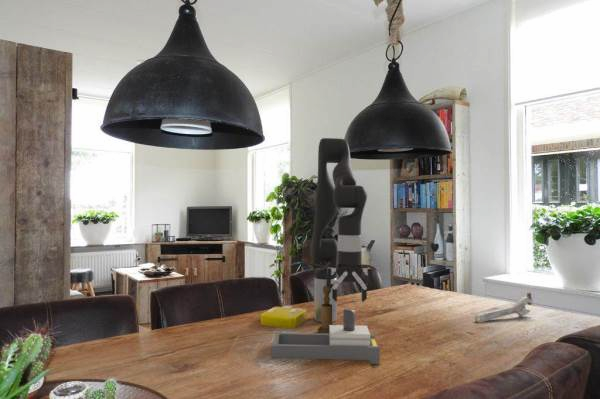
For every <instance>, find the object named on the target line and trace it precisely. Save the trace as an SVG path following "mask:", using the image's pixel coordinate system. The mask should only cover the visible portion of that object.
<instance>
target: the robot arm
mask: <svg viewBox="0 0 600 399" xmlns="http://www.w3.org/2000/svg"><path fill="white" fill-rule="evenodd" d="M317 154H318V155H317V181H316V182H317V184H316V193H315V203H314V222H313V230H312V236H311V237H312V238H311V243H310V244H311V245H310V256H311V259H312V260H313V261H314V262H327V263H326V265H324V266H323V267H321V268H317V269H316V270H315V271H314V283H313V284H314V287H313V288H314V294H313V295H314V302H313V304H314V307H313V308H314V309H313V310H314V317H313V318H314V321H315V322H320V323H321V318H322V304H325V303H324V298H325V294H324V292H323V287H324V286H327V287H330V288H331V292H330V294H329V298H330V302H329V304H332V323H334V322H336V321H338V320H337V319H338V318H337V317H338V315H337V314H338V305H337V304H338V303H337V302H338V286H340V285H341V283H342V282H344V283H348V282H350V283H355V282H357V283H358V284H359V286H361V302H362V303H365V301H366V300H367V298H368V297H367V295H368V294H367V293H368V292H367V291H368V289H372V288H373V286H374V284H373V271H372V270H373V269H372V268H371V267H367V268H363V266H362V254H363V253H362V249H363V246H362V245H363V244H362V220H363V219H362V217H363V213H364V209H365V206H366V203H367V199H368V193H367V190H366V188H365V187H364V186H362V185H357V181H356V176H355V175H354V173H353V169H352V162H351V161H352V160H351V152H350V146H349V143H348V141H347V140H346V139H344V138H335V137H334V138H332V137H331V138H330V137H329V138H328V137H324V138H323V137H322V138H321V139H320V140H319V143H318V153H317ZM328 164H336V165H335V166H334V168H333V170H332V178H331V177H330V174H329V172H328V171H329V170H328V168H327V166H328ZM332 179H333V181H332ZM339 208H340V209H353V211H352V212H351V213H350V214H346V215H345V214H344V215H341V216H340V217H338V220H337V221H338V222H337V223H338V225H337V226H338V227H337V228H338V229H337V231H338V235H337V240H336V239H335V238H322V237H323V234H324V232H325V230H326V229H327V228H328V226H329V224H330V223H331V222H332V221H334V219H335V217H336V216H337V214H338V211H339ZM363 273H364V275H365V276H367V278H366V279H367V283H365V282H364V281H363V280H362V278H361V276H362V275H363Z"/></svg>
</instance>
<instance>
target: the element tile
mask: <svg viewBox="0 0 600 399" xmlns="http://www.w3.org/2000/svg"><path fill="white" fill-rule="evenodd" d="M306 320H307V310H306V309H304V308H293V307H292V308H291V307H284V306H273V307H272V308H270V309H268V310H266V311H264V312H263V313H261V314H260V325H261V326H266V325H267V326H266V327H275V328H285V329H296V328H297V327H299V326H300V325H301V324H304V322H305V321H306Z"/></svg>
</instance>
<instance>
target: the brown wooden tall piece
mask: <svg viewBox="0 0 600 399" xmlns="http://www.w3.org/2000/svg"><path fill="white" fill-rule="evenodd" d="M323 292H324V294H325V298H324V303H325V304H322V318H321V322H320V323H321V325H320V326H319V328H317V333H318V334H329V325H333V322H332V304H329V302H330V298H329V294H330V292H331V288H330V287H327V286H324V287H323Z"/></svg>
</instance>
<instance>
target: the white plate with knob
mask: <svg viewBox="0 0 600 399" xmlns="http://www.w3.org/2000/svg"><path fill="white" fill-rule="evenodd" d="M342 312H343V315H342V316H343V318H342V319H343V320H342V321H343V323H342V324H338V325H337V324H332V325H329V345H346V346H370V341H371V338H370V334H371V333H370V330H369V327H368V325H356V310H355V309H353V308H344V309H343V310H342Z"/></svg>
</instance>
